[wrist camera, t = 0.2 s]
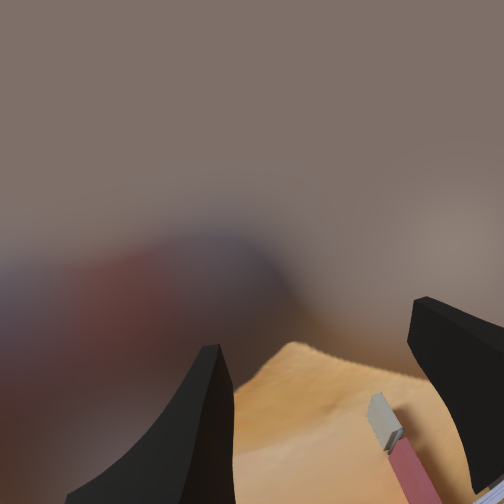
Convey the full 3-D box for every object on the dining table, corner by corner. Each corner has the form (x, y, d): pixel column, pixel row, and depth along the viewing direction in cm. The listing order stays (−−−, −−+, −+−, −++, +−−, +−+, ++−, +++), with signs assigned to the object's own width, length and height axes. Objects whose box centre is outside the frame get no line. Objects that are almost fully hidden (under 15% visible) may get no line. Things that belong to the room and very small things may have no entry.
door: (440, 527, 9) (459, 516, 8) (423, 536, 9) (441, 527, 8) (402, 452, 20) (413, 433, 18) (387, 458, 20) (397, 440, 18)
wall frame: (449, 566, 4) (475, 559, 3) (437, 573, 4) (462, 567, 3) (375, 413, 26) (382, 387, 24) (366, 416, 26) (372, 390, 24)
